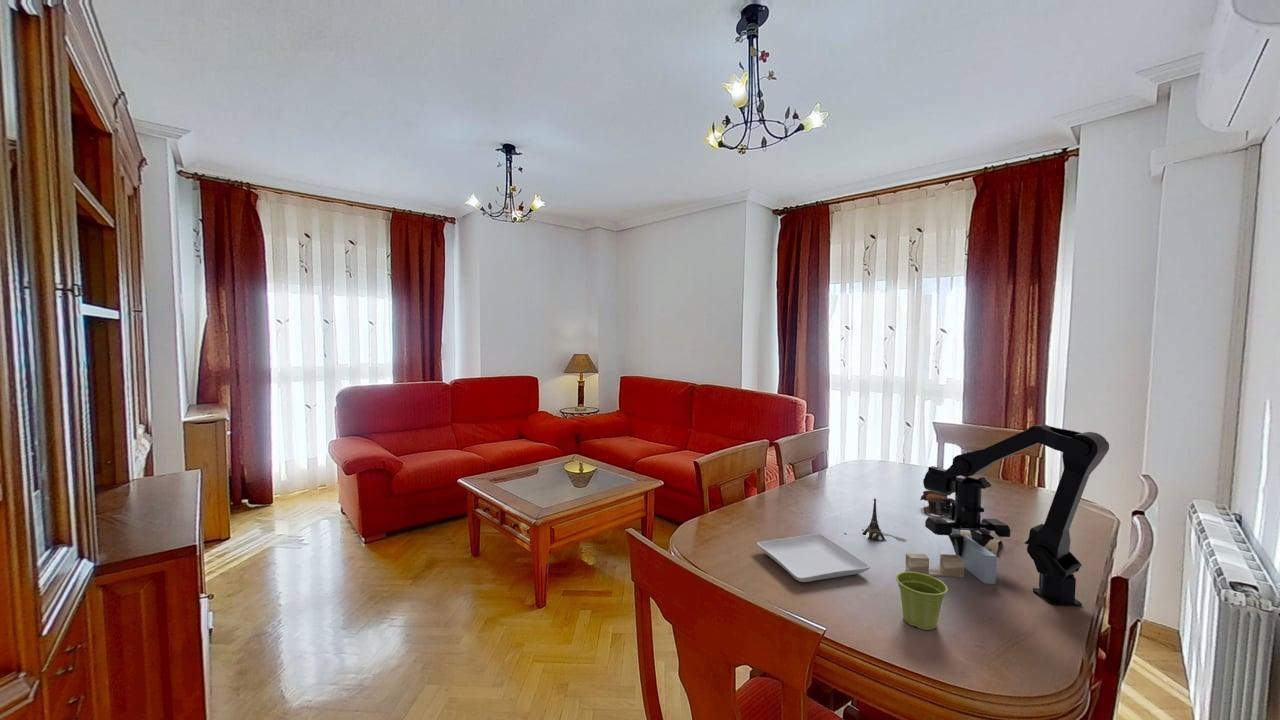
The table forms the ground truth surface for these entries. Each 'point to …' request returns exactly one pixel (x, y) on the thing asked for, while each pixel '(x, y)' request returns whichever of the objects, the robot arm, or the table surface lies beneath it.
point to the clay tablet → (990, 546)
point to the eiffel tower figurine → (877, 529)
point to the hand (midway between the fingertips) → (965, 558)
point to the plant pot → (921, 598)
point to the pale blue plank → (979, 560)
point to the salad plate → (812, 557)
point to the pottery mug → (934, 501)
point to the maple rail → (948, 567)
